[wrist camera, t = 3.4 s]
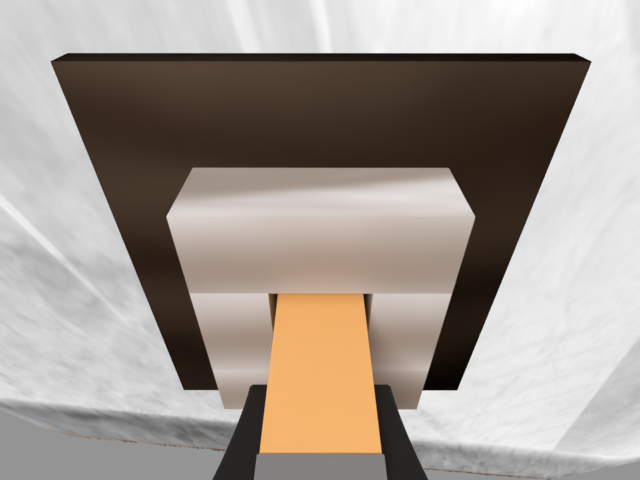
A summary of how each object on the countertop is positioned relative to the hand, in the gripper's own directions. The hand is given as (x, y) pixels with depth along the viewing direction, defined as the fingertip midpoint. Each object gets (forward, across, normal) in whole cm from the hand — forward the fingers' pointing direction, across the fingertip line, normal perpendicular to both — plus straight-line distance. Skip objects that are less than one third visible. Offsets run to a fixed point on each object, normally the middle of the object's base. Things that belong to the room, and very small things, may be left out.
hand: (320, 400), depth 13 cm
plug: (+4, 0, 0) cm, 4 cm away
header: (+7, 0, 0) cm, 7 cm away
